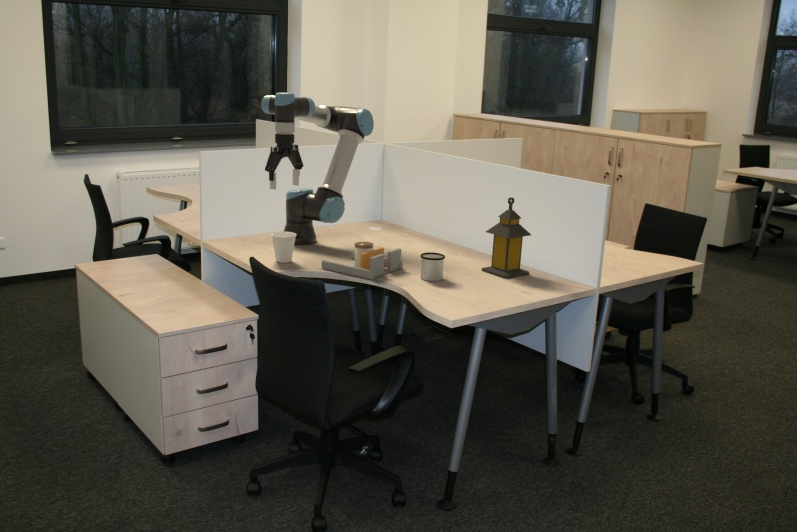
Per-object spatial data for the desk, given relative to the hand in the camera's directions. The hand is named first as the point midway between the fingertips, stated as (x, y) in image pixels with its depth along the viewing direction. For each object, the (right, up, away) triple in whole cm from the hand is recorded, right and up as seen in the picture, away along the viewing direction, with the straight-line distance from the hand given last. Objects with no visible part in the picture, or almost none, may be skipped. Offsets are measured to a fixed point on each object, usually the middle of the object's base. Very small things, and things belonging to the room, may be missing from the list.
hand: (284, 187), depth 297 cm
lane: (+31, -32, -4) cm, 45 cm away
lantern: (+88, -34, -1) cm, 94 cm away
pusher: (+38, -33, -9) cm, 51 cm away
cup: (-1, -30, +1) cm, 30 cm away
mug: (+58, -36, -13) cm, 70 cm away
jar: (+32, -32, -4) cm, 45 cm away
